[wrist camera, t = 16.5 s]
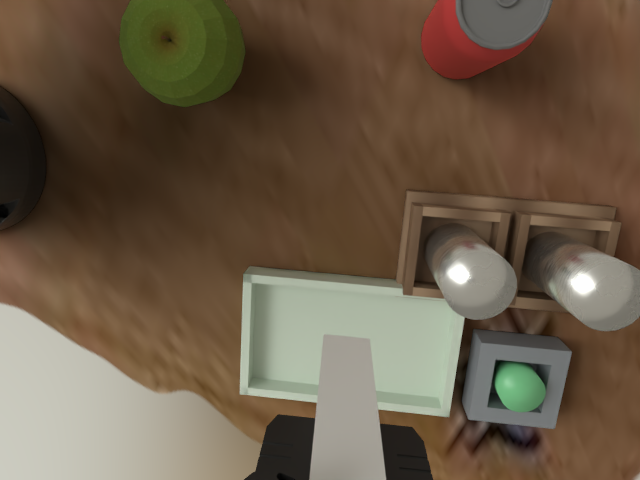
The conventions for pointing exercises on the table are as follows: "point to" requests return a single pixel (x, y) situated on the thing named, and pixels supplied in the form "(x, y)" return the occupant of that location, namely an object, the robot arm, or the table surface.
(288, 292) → the tray
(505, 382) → the button
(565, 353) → the grey square button housing
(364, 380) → the robot arm
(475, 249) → the cylinder
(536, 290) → the tray
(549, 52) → the table surface
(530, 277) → the cylinder
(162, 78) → the apple
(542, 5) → the beer can
